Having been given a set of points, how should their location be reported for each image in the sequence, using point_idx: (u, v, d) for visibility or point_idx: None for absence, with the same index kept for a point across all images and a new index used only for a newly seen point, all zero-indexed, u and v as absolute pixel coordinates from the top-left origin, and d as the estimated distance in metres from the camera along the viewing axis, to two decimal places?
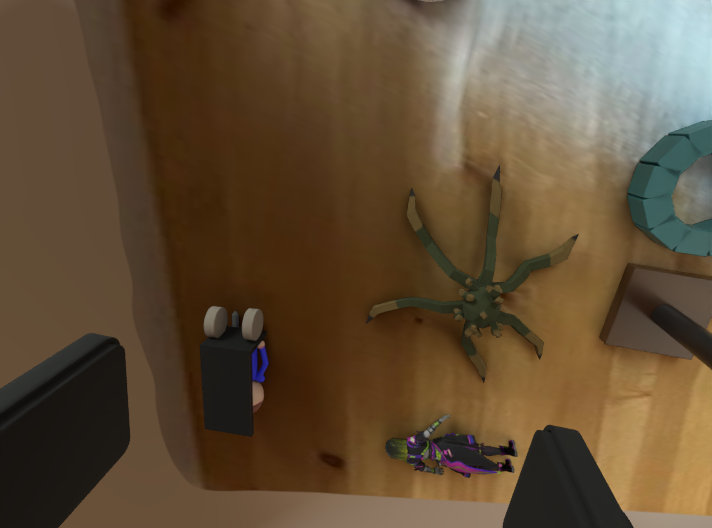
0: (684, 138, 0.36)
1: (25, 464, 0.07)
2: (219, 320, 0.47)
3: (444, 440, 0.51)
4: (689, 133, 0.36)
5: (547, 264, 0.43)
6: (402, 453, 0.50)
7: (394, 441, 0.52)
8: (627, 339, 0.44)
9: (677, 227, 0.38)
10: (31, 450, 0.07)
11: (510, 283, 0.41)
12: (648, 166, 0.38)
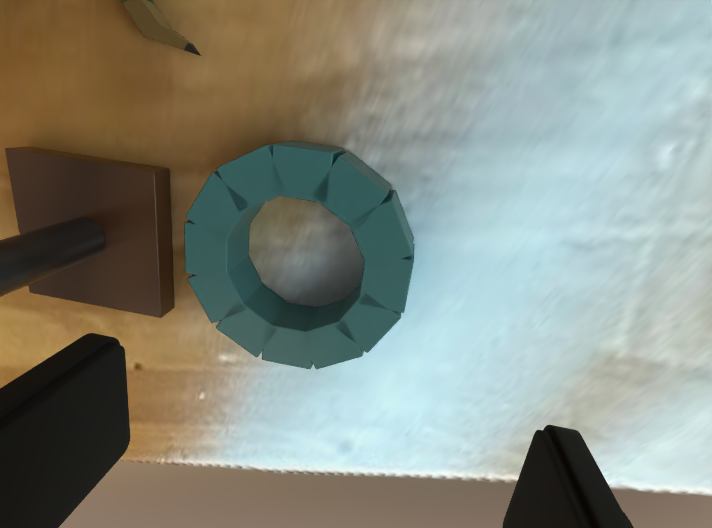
0: (383, 195, 0.19)
1: (25, 464, 0.07)
2: None
3: None
4: (392, 202, 0.19)
5: None
6: None
7: None
8: (27, 186, 0.23)
9: (227, 217, 0.21)
10: (31, 450, 0.07)
11: None
12: (333, 150, 0.20)
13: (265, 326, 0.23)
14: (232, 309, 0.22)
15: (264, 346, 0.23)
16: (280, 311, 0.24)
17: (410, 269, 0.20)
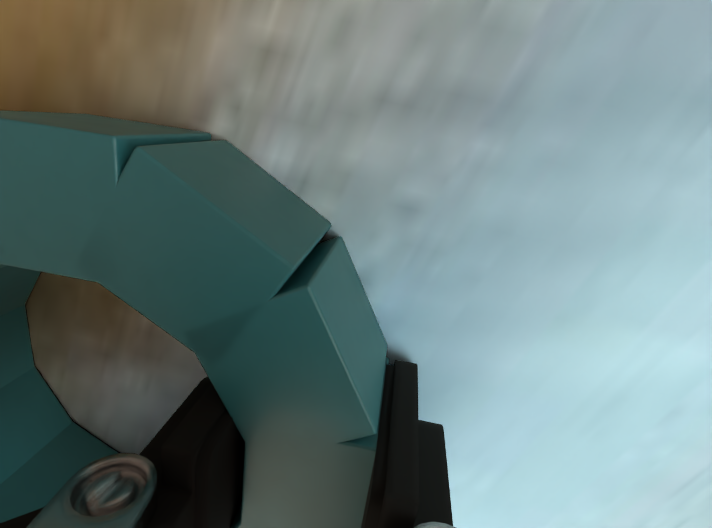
0: (283, 270, 0.06)
1: (237, 447, 0.08)
2: None
3: None
4: (312, 291, 0.06)
5: None
6: None
7: None
8: None
9: None
10: (240, 435, 0.08)
11: None
12: (144, 133, 0.07)
13: None
14: None
15: None
16: None
17: (370, 470, 0.07)
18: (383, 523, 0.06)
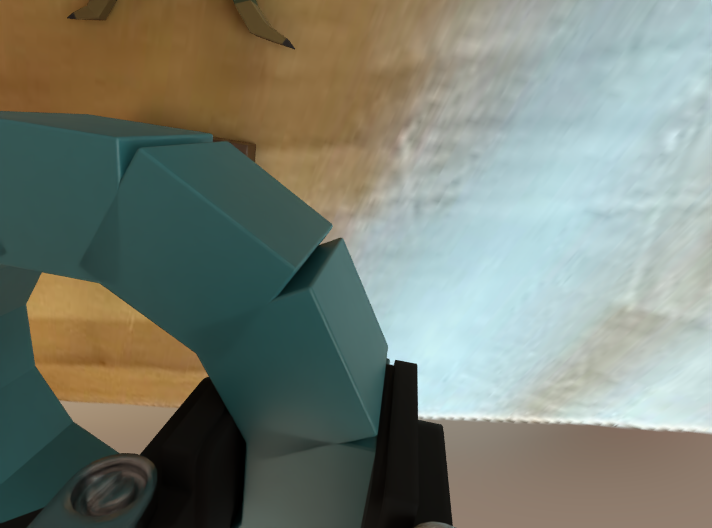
0: (285, 272, 0.06)
1: (237, 447, 0.08)
2: None
3: None
4: (314, 292, 0.06)
5: None
6: None
7: None
8: None
9: None
10: (240, 435, 0.08)
11: None
12: (146, 134, 0.07)
13: None
14: None
15: None
16: None
17: (371, 471, 0.07)
18: (383, 523, 0.06)
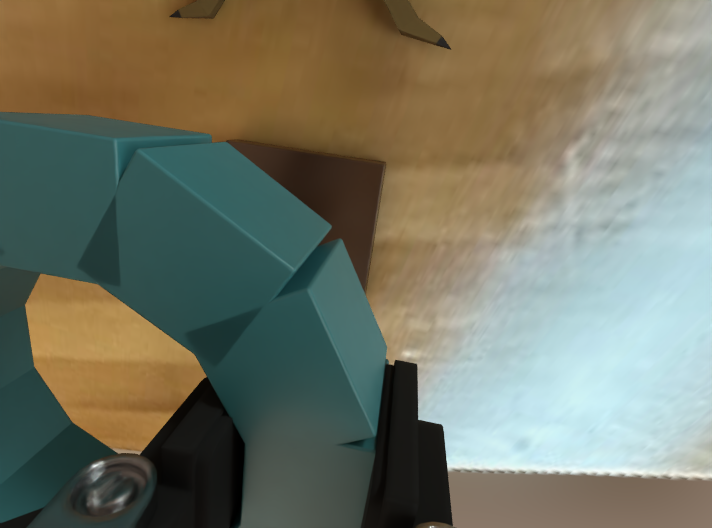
0: (284, 273, 0.06)
1: (237, 447, 0.08)
2: None
3: None
4: (312, 293, 0.06)
5: None
6: None
7: None
8: None
9: None
10: None
11: None
12: (145, 135, 0.07)
13: None
14: None
15: None
16: None
17: (370, 472, 0.07)
18: (383, 523, 0.06)
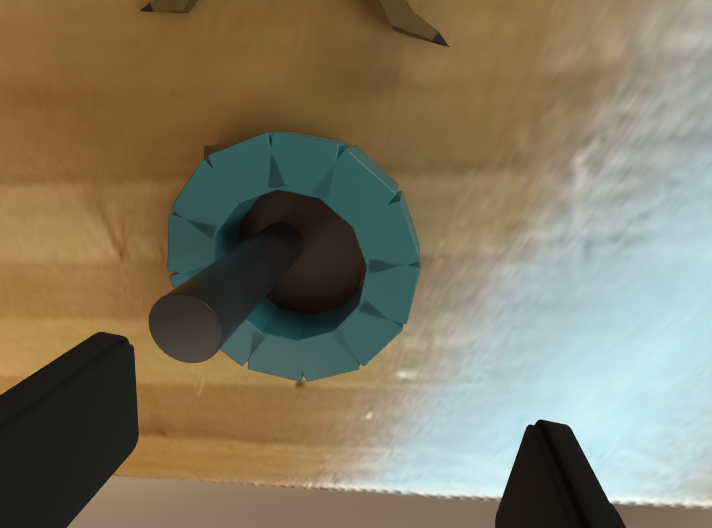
0: (391, 195, 0.17)
1: (39, 461, 0.07)
2: None
3: None
4: (401, 203, 0.18)
5: None
6: None
7: None
8: None
9: (216, 211, 0.19)
10: (44, 447, 0.07)
11: None
12: (339, 143, 0.18)
13: (253, 333, 0.20)
14: None
15: (251, 354, 0.21)
16: (270, 316, 0.22)
17: (416, 277, 0.18)
18: None
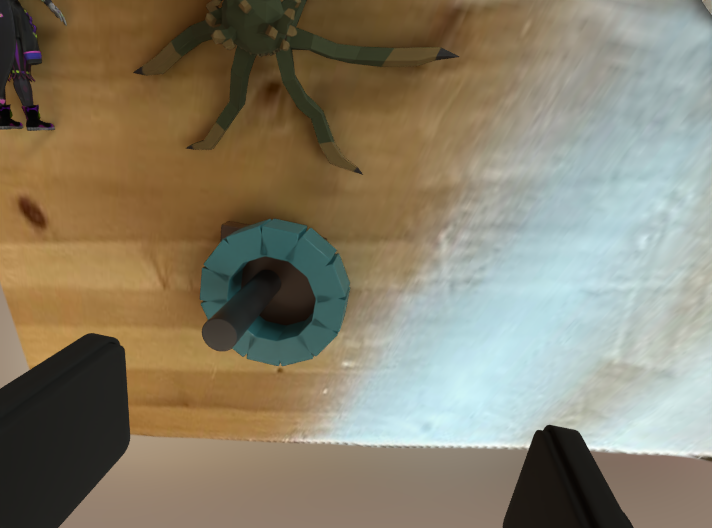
0: (328, 260, 0.32)
1: (25, 464, 0.07)
2: None
3: (17, 11, 0.31)
4: (333, 265, 0.32)
5: (321, 139, 0.32)
6: None
7: None
8: None
9: (230, 267, 0.33)
10: (31, 450, 0.07)
11: (294, 78, 0.29)
12: (299, 230, 0.32)
13: (250, 336, 0.34)
14: None
15: (248, 349, 0.35)
16: (260, 327, 0.36)
17: (343, 305, 0.33)
18: None
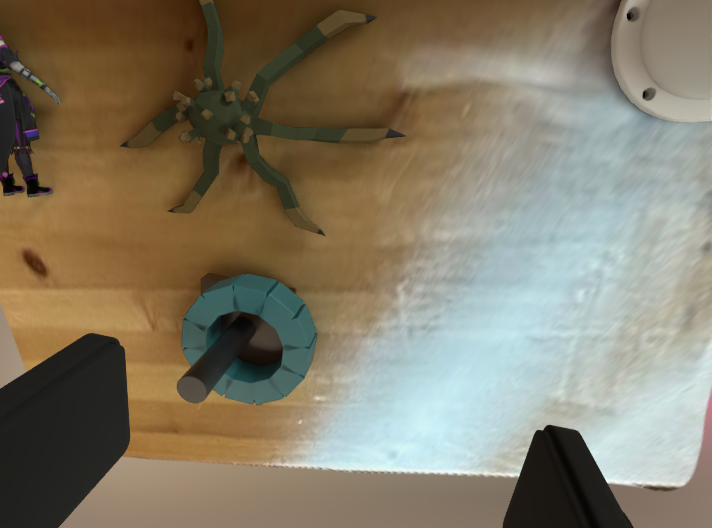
0: (293, 315, 0.35)
1: (25, 464, 0.07)
2: None
3: (17, 95, 0.35)
4: (298, 318, 0.36)
5: (286, 205, 0.36)
6: None
7: None
8: None
9: (207, 319, 0.37)
10: (31, 450, 0.07)
11: (257, 159, 0.32)
12: (268, 287, 0.36)
13: (227, 379, 0.38)
14: None
15: (226, 390, 0.39)
16: (237, 368, 0.40)
17: (308, 353, 0.36)
18: None
